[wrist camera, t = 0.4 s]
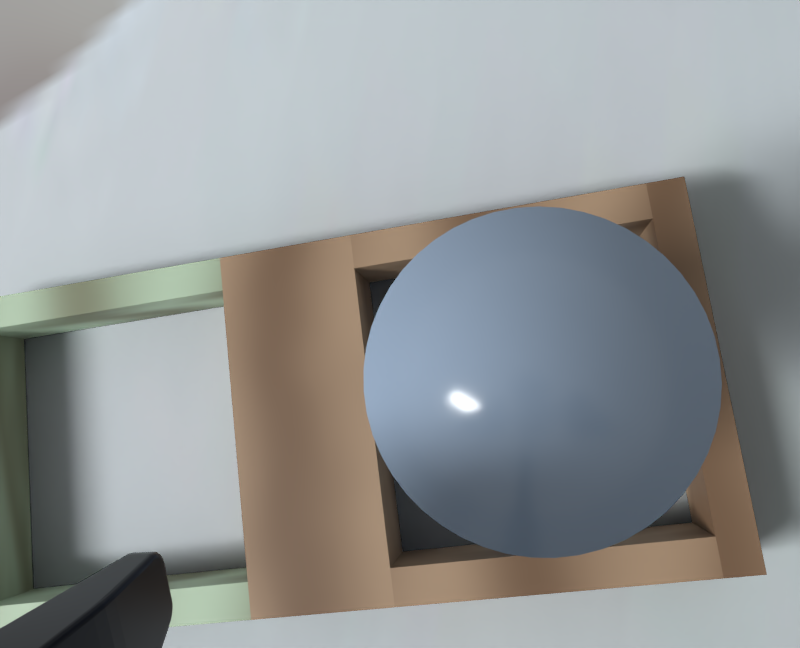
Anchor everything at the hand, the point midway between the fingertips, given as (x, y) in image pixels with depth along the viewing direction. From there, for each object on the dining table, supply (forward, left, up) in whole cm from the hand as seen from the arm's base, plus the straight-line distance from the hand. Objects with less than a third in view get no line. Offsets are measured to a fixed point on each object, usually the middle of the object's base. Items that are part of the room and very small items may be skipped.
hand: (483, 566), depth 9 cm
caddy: (-3, +6, -15) cm, 16 cm away
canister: (+3, +1, -15) cm, 15 cm away
